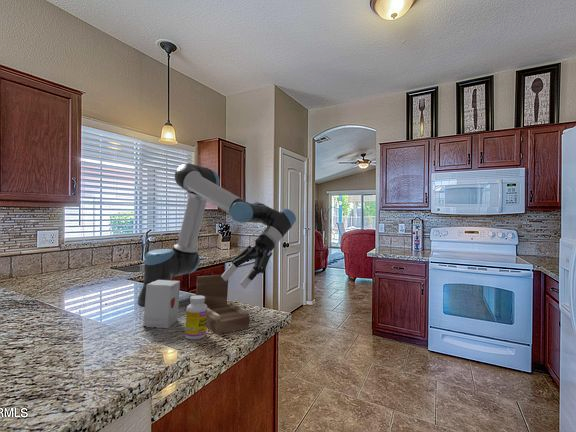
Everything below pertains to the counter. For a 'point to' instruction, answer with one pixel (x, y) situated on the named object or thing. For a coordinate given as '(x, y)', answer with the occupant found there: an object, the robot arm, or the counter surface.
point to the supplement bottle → (196, 318)
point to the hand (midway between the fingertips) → (232, 282)
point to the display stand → (220, 305)
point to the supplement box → (161, 303)
